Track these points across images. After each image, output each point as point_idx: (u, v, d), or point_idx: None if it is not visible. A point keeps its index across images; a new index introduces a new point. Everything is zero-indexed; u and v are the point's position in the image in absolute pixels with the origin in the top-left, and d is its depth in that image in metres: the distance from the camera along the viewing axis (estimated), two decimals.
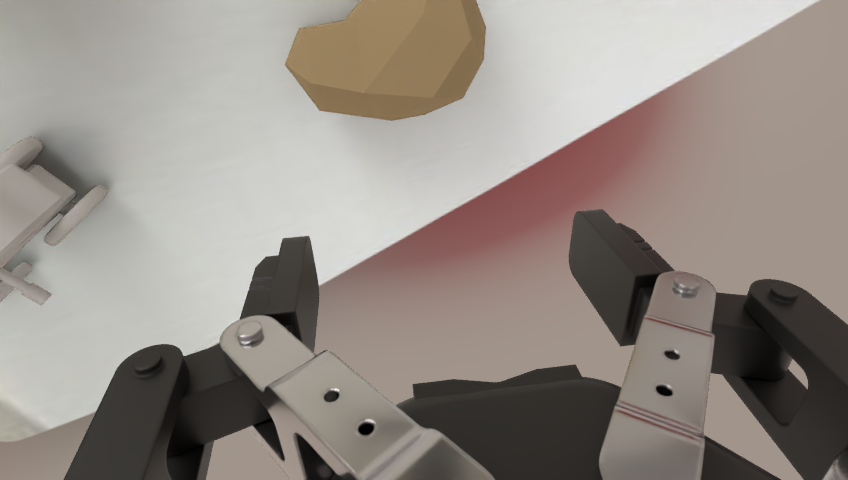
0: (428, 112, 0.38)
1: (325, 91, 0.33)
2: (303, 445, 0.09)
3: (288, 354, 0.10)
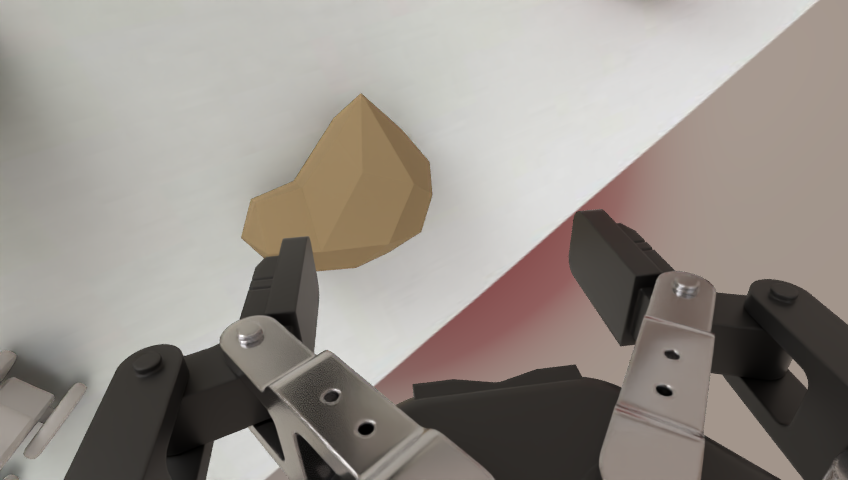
0: None
1: None
2: (304, 445, 0.09)
3: (288, 354, 0.10)
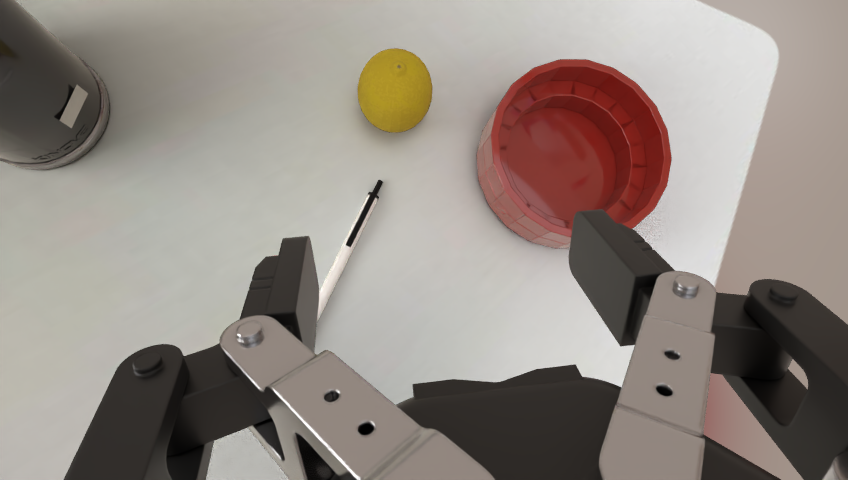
0: None
1: None
2: (303, 445, 0.09)
3: (288, 354, 0.10)
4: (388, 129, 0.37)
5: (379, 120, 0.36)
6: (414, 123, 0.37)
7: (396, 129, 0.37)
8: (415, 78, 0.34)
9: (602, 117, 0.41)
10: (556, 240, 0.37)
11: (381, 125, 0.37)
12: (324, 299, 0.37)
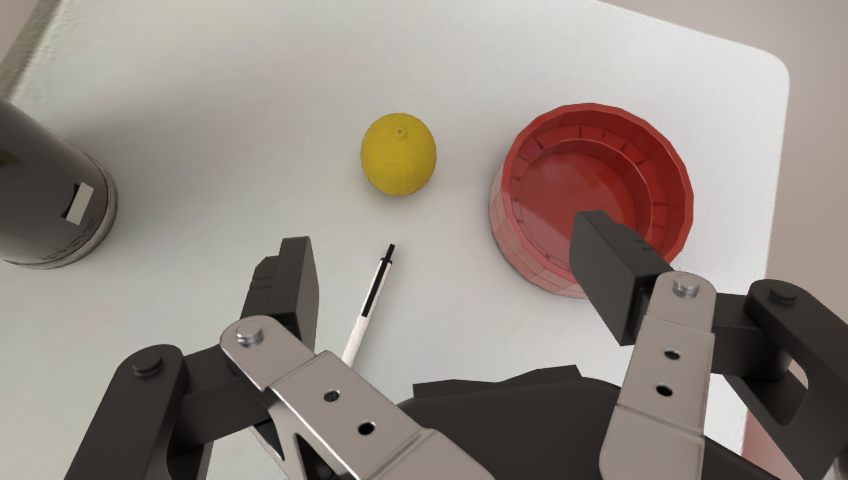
0: None
1: None
2: (303, 445, 0.09)
3: (288, 354, 0.10)
4: (395, 193, 0.36)
5: (384, 186, 0.35)
6: (421, 184, 0.36)
7: (403, 192, 0.36)
8: (417, 141, 0.33)
9: (614, 158, 0.39)
10: (582, 291, 0.35)
11: (387, 190, 0.36)
12: None
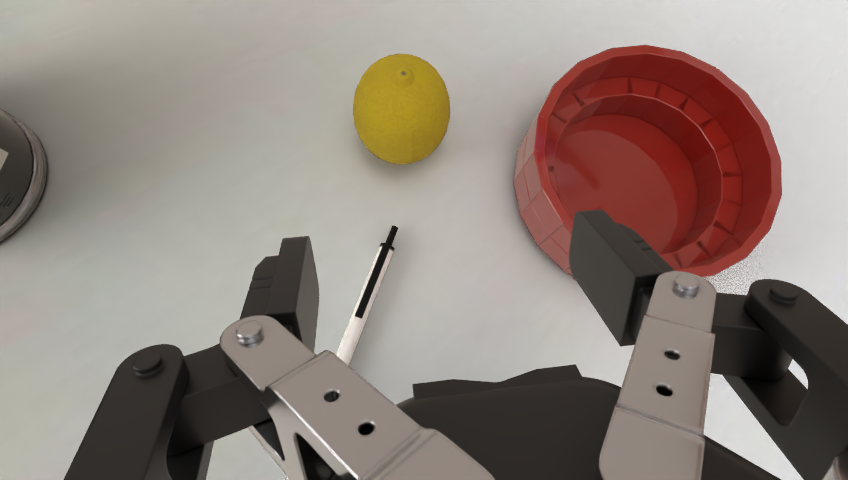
0: None
1: None
2: (304, 445, 0.09)
3: (288, 354, 0.10)
4: (397, 160, 0.28)
5: (384, 149, 0.27)
6: (430, 148, 0.28)
7: (407, 158, 0.28)
8: (426, 87, 0.25)
9: (671, 119, 0.32)
10: None
11: (387, 155, 0.28)
12: None
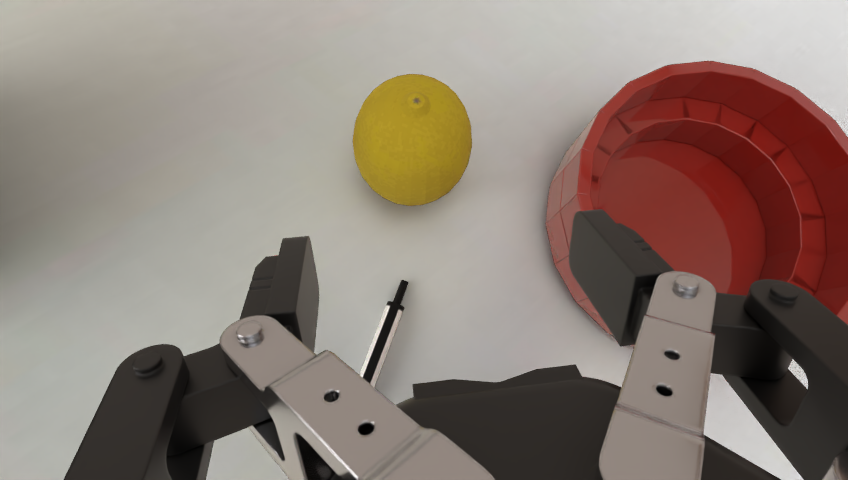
0: None
1: None
2: (303, 445, 0.09)
3: (288, 354, 0.10)
4: (407, 202, 0.23)
5: (391, 191, 0.22)
6: (448, 189, 0.23)
7: (420, 201, 0.23)
8: (445, 117, 0.20)
9: (733, 147, 0.26)
10: None
11: (394, 198, 0.23)
12: None
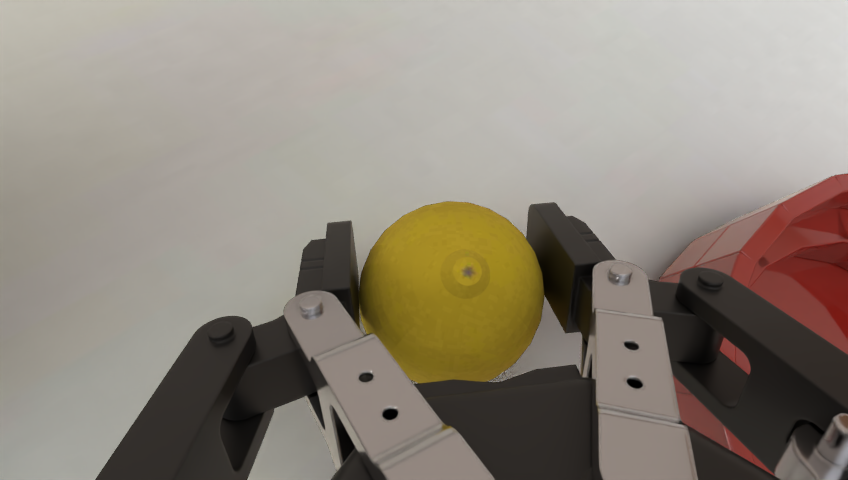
0: None
1: None
2: (339, 418, 0.09)
3: (350, 324, 0.10)
4: None
5: (418, 381, 0.14)
6: None
7: None
8: (512, 291, 0.12)
9: None
10: None
11: None
12: None
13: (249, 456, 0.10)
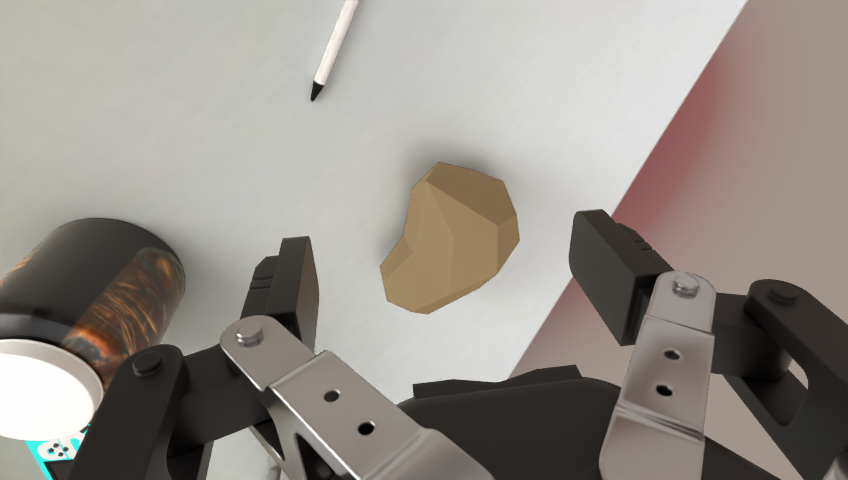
0: None
1: (423, 308, 0.42)
2: (303, 445, 0.09)
3: (288, 354, 0.10)
4: None
5: None
6: None
7: None
8: None
9: None
10: None
11: None
12: None
13: None
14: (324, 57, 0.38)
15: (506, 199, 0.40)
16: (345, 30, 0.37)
